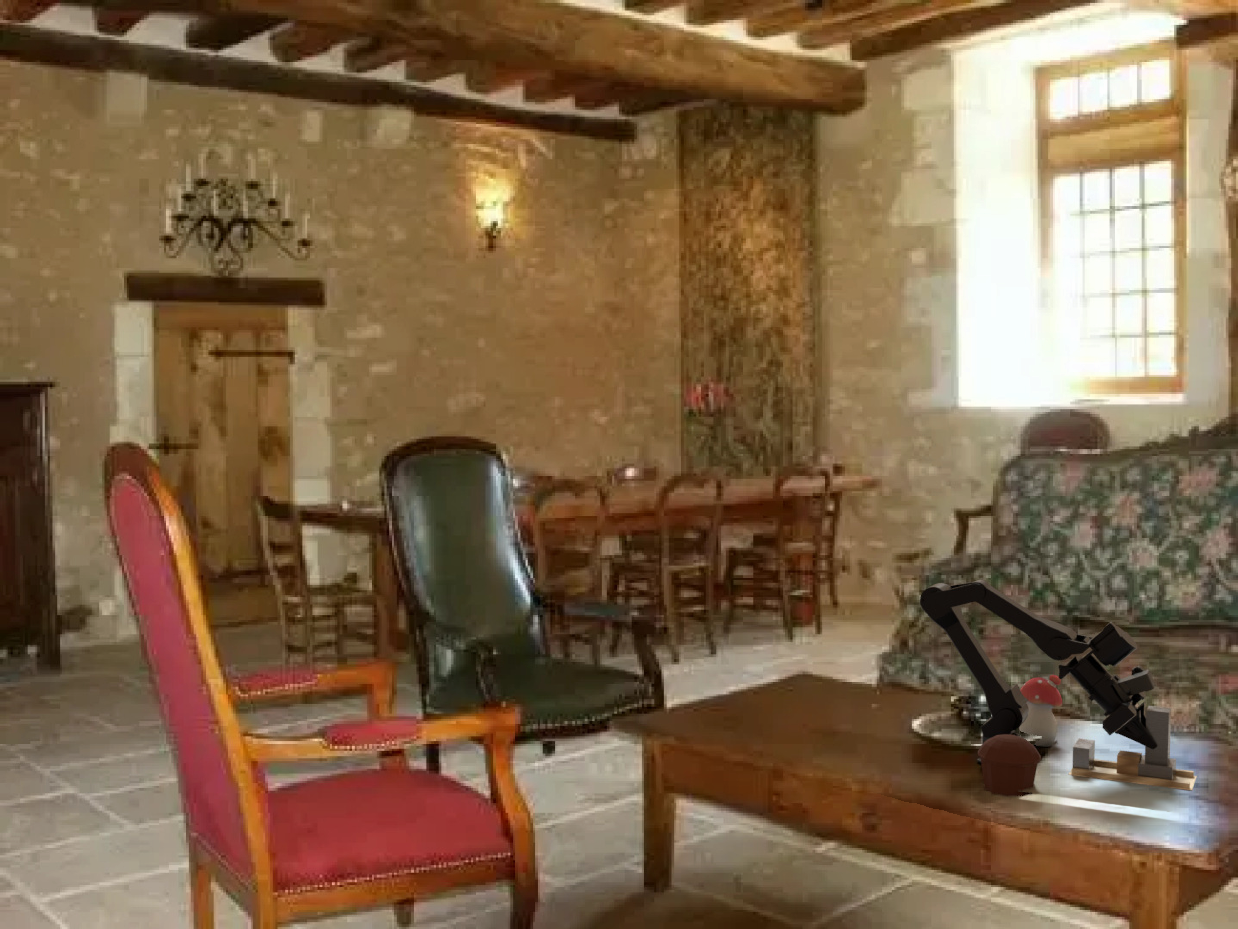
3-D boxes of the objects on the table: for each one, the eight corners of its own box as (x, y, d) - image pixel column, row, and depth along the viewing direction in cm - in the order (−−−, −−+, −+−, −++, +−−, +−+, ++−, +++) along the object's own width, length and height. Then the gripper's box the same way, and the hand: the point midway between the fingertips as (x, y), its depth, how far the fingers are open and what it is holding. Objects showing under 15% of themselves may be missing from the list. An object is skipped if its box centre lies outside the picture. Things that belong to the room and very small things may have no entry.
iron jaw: (1072, 772, 269) (1072, 747, 269) (1078, 763, 275) (1078, 738, 275) (1088, 774, 268) (1089, 749, 267) (1094, 765, 274) (1094, 740, 274)
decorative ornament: (1066, 746, 293) (1068, 675, 292) (1046, 750, 289) (1047, 679, 288) (1031, 736, 300) (1032, 667, 299) (1010, 740, 297) (1012, 671, 296)
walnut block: (1116, 776, 267) (1117, 755, 266) (1119, 770, 270) (1119, 750, 270) (1138, 779, 265) (1139, 758, 265) (1141, 773, 268) (1141, 753, 268)
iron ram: (1137, 779, 264) (1139, 711, 263) (1142, 770, 270) (1144, 703, 269) (1172, 783, 261) (1173, 714, 260) (1175, 774, 267) (1177, 707, 266)
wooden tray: (1068, 780, 268) (1068, 769, 268) (1076, 767, 277) (1077, 756, 277) (1191, 796, 258) (1192, 784, 258) (1196, 782, 267) (1196, 771, 267)
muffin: (1053, 792, 261) (1054, 739, 260) (1014, 802, 254) (1015, 748, 254) (1002, 777, 270) (1003, 726, 270) (963, 786, 264) (964, 734, 263)
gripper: (1122, 664, 258) (1185, 730, 254) (1135, 646, 275) (1194, 708, 270) (1077, 701, 262) (1138, 767, 258) (1092, 682, 279) (1149, 743, 274)
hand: (1156, 745), depth 265 cm, fingers closed on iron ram, 4 cm apart
